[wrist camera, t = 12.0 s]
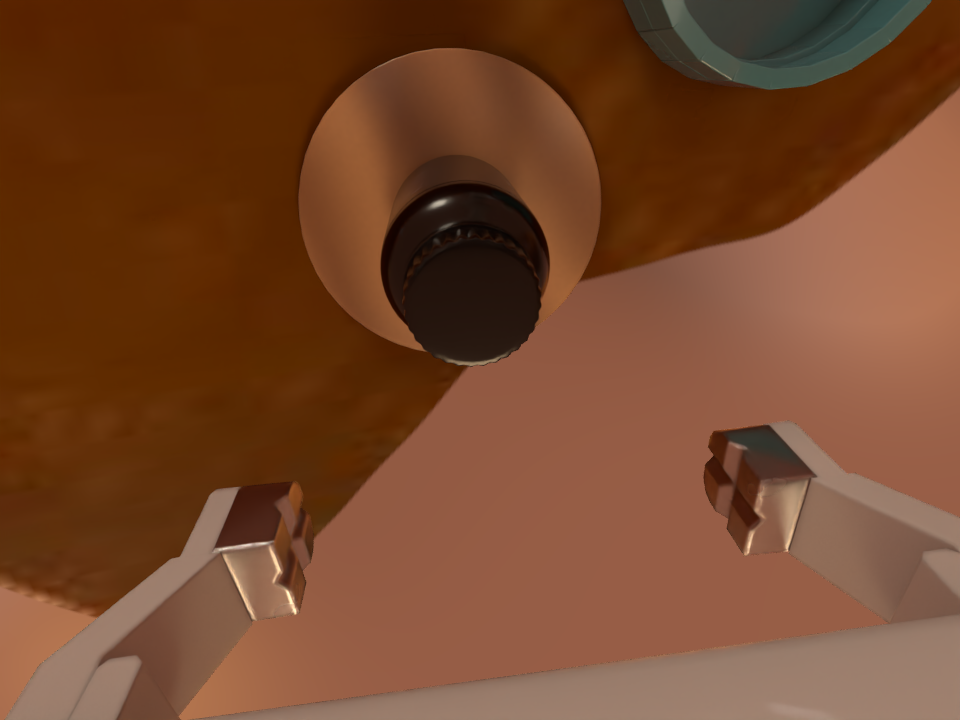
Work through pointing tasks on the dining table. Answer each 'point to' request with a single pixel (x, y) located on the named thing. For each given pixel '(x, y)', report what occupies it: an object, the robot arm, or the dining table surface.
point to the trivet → (431, 134)
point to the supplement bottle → (464, 261)
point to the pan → (769, 37)
